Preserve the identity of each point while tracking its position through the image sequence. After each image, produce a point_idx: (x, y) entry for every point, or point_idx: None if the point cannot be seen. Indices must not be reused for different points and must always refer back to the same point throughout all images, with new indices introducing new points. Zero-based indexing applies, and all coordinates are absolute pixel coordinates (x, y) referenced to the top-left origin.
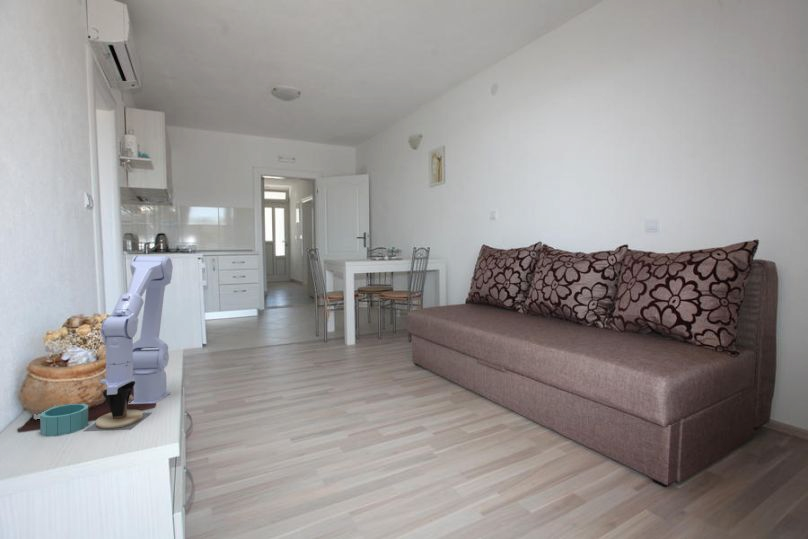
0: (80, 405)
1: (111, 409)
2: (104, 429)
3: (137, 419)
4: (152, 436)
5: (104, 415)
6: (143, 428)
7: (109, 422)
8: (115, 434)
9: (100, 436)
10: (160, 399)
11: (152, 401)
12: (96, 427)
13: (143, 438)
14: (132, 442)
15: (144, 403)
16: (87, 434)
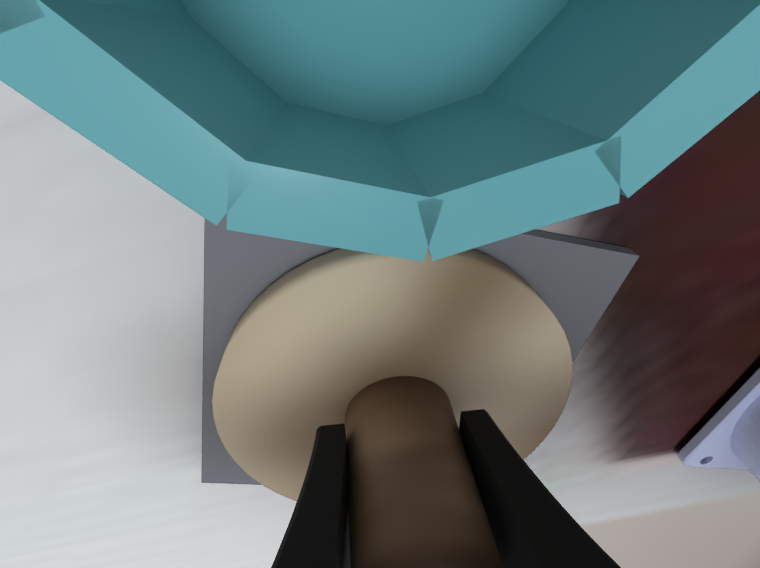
0: (729, 20)
1: (298, 505)
2: (222, 344)
3: None
4: (114, 558)
5: (499, 291)
6: (245, 503)
7: (267, 391)
8: (157, 411)
9: (121, 338)
10: (733, 467)
11: (724, 445)
12: (289, 268)
13: (85, 538)
14: (20, 517)
15: (725, 413)
16: (176, 223)
